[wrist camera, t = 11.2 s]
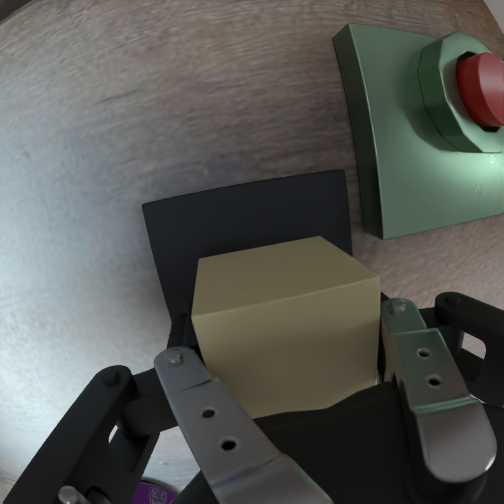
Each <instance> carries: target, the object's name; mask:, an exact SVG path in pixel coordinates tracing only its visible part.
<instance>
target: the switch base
mask: <svg viewBox="0 0 504 504" xmlns="http://www.w3.org/2000/svg"><path fill="white" fill-rule="evenodd" d="M333 41H334V45H335V49H336V53H337V57H338V61H339V66H340V70H341V75H342V79H343V84H344V89H345V94H346V99H347V104H348V109H349V115H350V121H351V127H352V133H353V139H354V146H355V153H356V160H357V168H358V176H359V185H360V195H361V205H362V217H363V230H364V232H366V233H369V234H371V235H373V236H375V237H377V238H379V239H382V240H387V239H392V238H397V237H401V236H406V235H411V234H415V233H420V232H424V231H429V230H433V229H438V228H443V227H447V226H452V225H456V224H460V223H465V222H469V221H474V220H478V219H483V218H487V217H491V216H496V215H500V214H504V127H484V126H481V125H479V124H478V123H477V122H475V121H474V120H473V119H472V118H471V116H470V115H469V113H468V111H467V109H466V107H465V106H464V104H463V102H462V100H461V98H460V93H459V88H458V84H457V79H456V69H457V66H458V64H459V62H460V61H461V60H462V59H464V58H467V57H470V56H473V55H477V54H480V53H484V52H489V53H491V52H490V51H489V50H488V49H487V47H486V46H485V45H484V44H483V43H482V42H481V41H480V40H479V39H477V38H475V37H472V36H470V35H467V34H464V33H461V32H458V31H456V32H453V33H451V34H449V35H446V36H444V37H442V38H439V39H438V38H434V37H430V36H426V35H422V34H417V33H413V32H408V31H403V30H397V29H392V28H386V27H379V26H372V25H364V24H356V23H348V24H346V25H345V26H344V27H343V28H342V29H341V30H340V31H339V32H338V33H337V34H336V35H335V36H334V37H333ZM500 60H501V59H500ZM501 61H502V62H503V63H504V61H503V60H501Z"/></svg>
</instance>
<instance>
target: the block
mask: <svg viewBox="0 0 504 504" xmlns="http://www.w3.org/2000/svg"><path fill="white" fill-rule="evenodd" d="M380 295H381V278H380V276H379V275H378V274H376V273H375V272H373V271H372V270H370V269H369V268H368V267H366V266H365V265H363V264H362V263H360V262H359V261H357V260H356V259H354V258H353V257H351V256H350V255H348V254H347V253H345V252H344V251H342V250H341V249H339V248H338V247H336V246H335V245H333V244H331V243H330V242H328V241H327V240H325V239H324V238H322V237H321V236H316V237H311V238H306V239H300V240H295V241H290V242H284V243H279V244H274V245H268V246H263V247H258V248H253V249H247V250H242V251H237V252H231V253H226V254H221V255H216V256H210V257H205V258H200V259H199V262H198V269H197V276H196V284H195V291H194V299H193V307H192V315H191V319H192V323H193V326H194V330H195V333H196V337H197V340H198V344H199V347H200V351H201V354H202V357H203V360H204V364H205V367H206V369H207V370H208V372H209V373H210V375H211V376H212V377H213V378H215V377H219V378H220V379H221V380H222V381H223V383H224V384H225V385H226V387H227V388H228V389H229V391H230V392H231V393H232V395H233V396H234V397H235V398H236V400H237V401H238V402H239V404H240V405H241V406H242V407H243V409H244V410H245V411H246V412H247V414H248V415H249V416H250V417H251V419H254V418H259V417H264V416H269V415H273V414H278V413H282V412H290V411H306V410H318V409H325V408H328V407H330V406H332V405H334V404H336V403H338V402H339V401H341V400H343V399H345V398H347V397H348V396H350V395H352V394H354V393H356V392H357V391H360V390H363V389H366V388H369V387H372V386H374V385H375V381H376V370H377V359H378V345H379V327H380Z"/></svg>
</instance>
